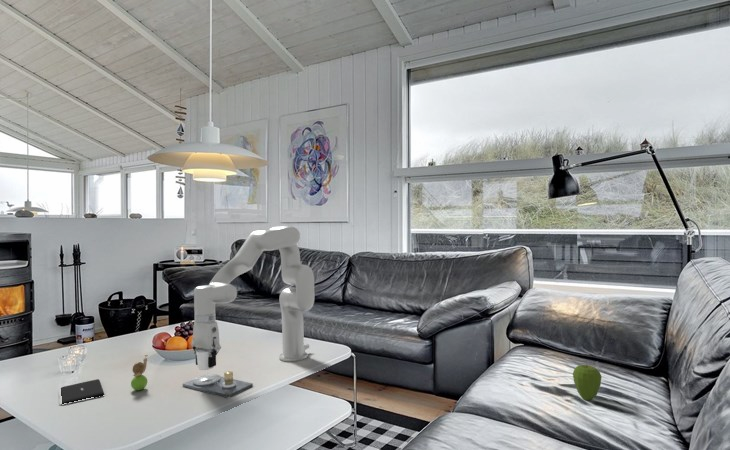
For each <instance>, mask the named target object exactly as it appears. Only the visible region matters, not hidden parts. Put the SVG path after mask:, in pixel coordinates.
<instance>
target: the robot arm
mask: <svg viewBox="0 0 730 450" xmlns="http://www.w3.org/2000/svg"><path fill="white" fill-rule="evenodd" d="M300 239H301V232H300V231H299V229H298V228H297V227H295V226H292V225H291V226H290V225H288V226H287V225H286V226H285V225H281V226H273V227H270V228H269V230H265V229H264V230H263V229H261V230H260V229H259V230H254V231H252V232H251V233H250V234H249V235H248V236H247V238H246V239H245V240H244V242H243V244H241V247H240V248H239V250H238V251H237V252H236V253H235V255H234V257H233V258H232V259H231V260H229V261H228V262H227V263H225V264H224V265H223V266H222V267H221V268H220V269H219V270H218V271H217V272H216V273H215V275H213V277H212V279H211V280H210V282H209V284H208V285H198V286H196V287H195V288H194V291H193V292H194V293H193V302H194V306H193V307H194V308H193V309H194V323H193V328H192V339H191V342H190V345H191V348H192V350H193V351H194V352H193V353H194V355H195V365H196V366H198V363H197V355H196V350H198V349H200V348H201V349H207V350H208V353H209V356H210V357H208V367H209V368H211V367H213V366H214V367H216V366H217V356H218V353H219V352H220V350H221V349H222V346H221V344H220V332H219V325H218V322H217V321H216V319H217V317H216V304H229V303H232V302H233V301H235V300H236V298H237V296H238V289H237V288H236V286H234V285H232V284H231V282H233V280H234V279H235V278H237V277H239V276H240V275H243V274H244V273H247V272H248V271H251V270H252V269H253V267H254V266H255V265H256V263H257V262H258V259H259V258H260V256H261V255H263V254H262V253H263V252H265V251H267V252H268V251H269V252H270V251H271V252H272V251H277V250H278V251H279V253H280V261H281V262H280V263H281V280H282V282H283V283H284V284H286V285H290V286H292V287H290V286H289V287H286V288H284V289H283V290H282V291H281V292H280V293H279V300H278V301H279V306H280V310H281V331H282V332H281V334H282V335H281V337H282V339H281V340H282V343H281V344H282V353H281V354H279V356H278V358H279V360H280V361H282V362H300V361H303V360H305V359H307V358H308V353H307V352H306V350H308V349H310V347H311V346H310V344H308V343H307V344H304V343H305V342H304V341H305V340H304V337H305V336H304V334H305V333H304V315H303V312H306V311H307V312H308V311H310V310H311V309H312V308H313V306H314V304H315V297H316V296H315V275H314V272H313V270H312V268H311V267H310V266H309V265H307V264H302V263H301V253H300V248H299V246H298V243H299V241H300ZM293 286H295V287H293ZM212 349H213V352H212V351H211V350H212ZM214 367H213V368H214Z"/></svg>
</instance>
